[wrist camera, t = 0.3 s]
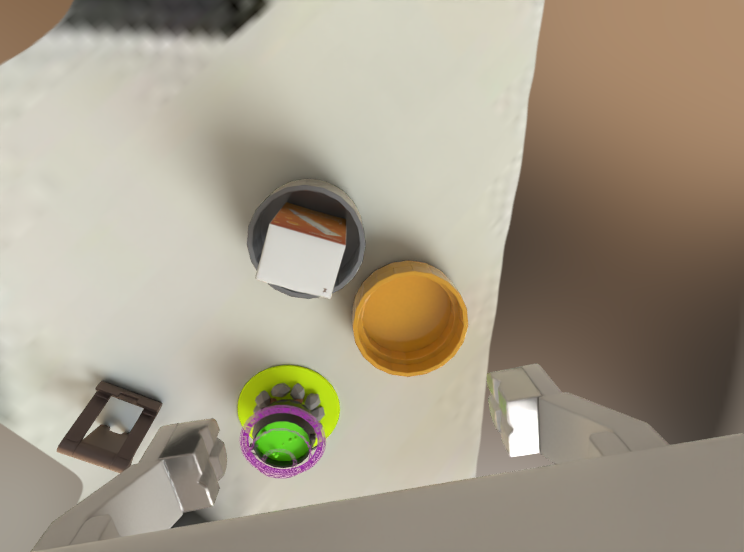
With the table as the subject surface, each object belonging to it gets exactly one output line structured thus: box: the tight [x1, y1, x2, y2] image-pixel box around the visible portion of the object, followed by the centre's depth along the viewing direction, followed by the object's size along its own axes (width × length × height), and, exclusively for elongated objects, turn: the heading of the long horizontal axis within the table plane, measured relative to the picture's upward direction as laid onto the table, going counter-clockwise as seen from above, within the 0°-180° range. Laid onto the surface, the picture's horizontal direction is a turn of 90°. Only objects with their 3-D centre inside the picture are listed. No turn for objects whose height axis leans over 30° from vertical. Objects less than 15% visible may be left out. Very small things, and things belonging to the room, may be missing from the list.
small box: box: [255, 202, 346, 299], centre depth 52 cm, size 8×6×13 cm
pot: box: [247, 179, 366, 299], centre depth 55 cm, size 14×14×6 cm
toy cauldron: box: [238, 365, 340, 478], centre depth 61 cm, size 15×15×11 cm
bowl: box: [352, 260, 468, 377], centre depth 60 cm, size 15×15×5 cm
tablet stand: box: [57, 381, 162, 473], centre depth 61 cm, size 9×8×8 cm
